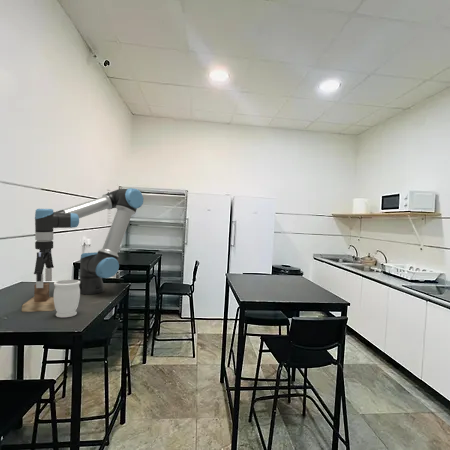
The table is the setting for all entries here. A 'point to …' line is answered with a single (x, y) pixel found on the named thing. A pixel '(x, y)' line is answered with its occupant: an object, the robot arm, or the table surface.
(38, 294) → the block
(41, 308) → the base
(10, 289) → the table surface
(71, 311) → the jar
